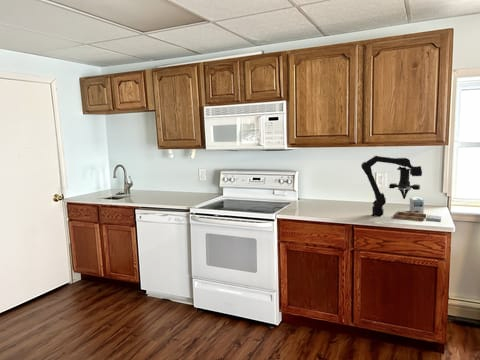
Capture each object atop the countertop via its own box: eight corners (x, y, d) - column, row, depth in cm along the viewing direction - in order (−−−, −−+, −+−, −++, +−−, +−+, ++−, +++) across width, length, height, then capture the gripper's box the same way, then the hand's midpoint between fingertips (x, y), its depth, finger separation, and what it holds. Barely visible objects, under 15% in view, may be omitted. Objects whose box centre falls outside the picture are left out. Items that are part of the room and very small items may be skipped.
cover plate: (426, 222, 233) (426, 217, 232) (427, 219, 239) (427, 215, 239) (440, 223, 228) (440, 219, 228) (440, 220, 235) (441, 216, 235)
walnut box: (393, 219, 241) (393, 215, 241) (397, 215, 251) (397, 211, 251) (423, 222, 231) (423, 217, 231) (426, 218, 241) (426, 214, 240)
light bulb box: (423, 215, 250) (424, 199, 249) (413, 215, 251) (413, 199, 250) (419, 211, 261) (419, 196, 259) (409, 211, 262) (409, 196, 260)
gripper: (387, 177, 245) (387, 199, 247) (417, 178, 234) (417, 202, 236) (391, 175, 254) (390, 197, 256) (420, 176, 243) (419, 199, 245)
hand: (404, 198), depth 248 cm, fingers closed
